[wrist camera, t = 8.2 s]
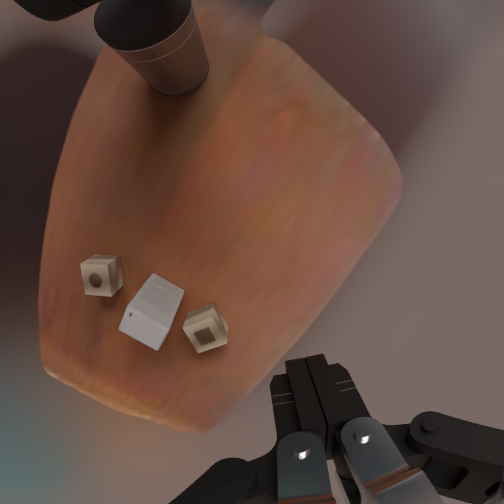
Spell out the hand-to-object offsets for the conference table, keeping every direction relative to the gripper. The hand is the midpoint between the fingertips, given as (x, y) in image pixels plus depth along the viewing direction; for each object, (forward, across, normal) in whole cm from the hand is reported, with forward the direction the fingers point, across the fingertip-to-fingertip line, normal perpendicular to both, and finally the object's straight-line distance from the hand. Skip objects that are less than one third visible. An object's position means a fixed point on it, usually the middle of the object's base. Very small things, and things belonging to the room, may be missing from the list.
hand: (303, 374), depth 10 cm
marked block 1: (+32, +25, +3) cm, 41 cm away
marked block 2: (+32, +10, +14) cm, 36 cm away
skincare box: (+32, +16, +8) cm, 37 cm away
